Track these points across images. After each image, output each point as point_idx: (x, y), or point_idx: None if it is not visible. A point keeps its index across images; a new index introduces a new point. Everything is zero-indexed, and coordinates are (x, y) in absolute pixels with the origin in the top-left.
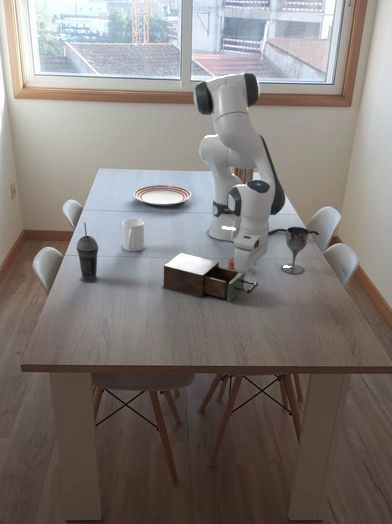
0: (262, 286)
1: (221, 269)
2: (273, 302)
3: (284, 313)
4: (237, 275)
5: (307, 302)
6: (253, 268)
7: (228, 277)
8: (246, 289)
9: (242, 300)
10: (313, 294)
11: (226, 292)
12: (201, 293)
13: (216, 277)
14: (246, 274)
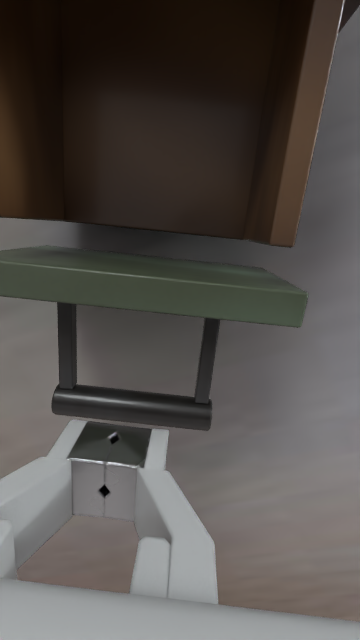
0: (352, 372)
1: (303, 34)
2: (184, 455)
3: None
4: (173, 286)
5: (247, 567)
6: (137, 528)
7: (263, 166)
8: (70, 382)
9: (133, 317)
10: (334, 577)
11: (106, 216)
12: None
13: (280, 36)
14: (67, 431)
